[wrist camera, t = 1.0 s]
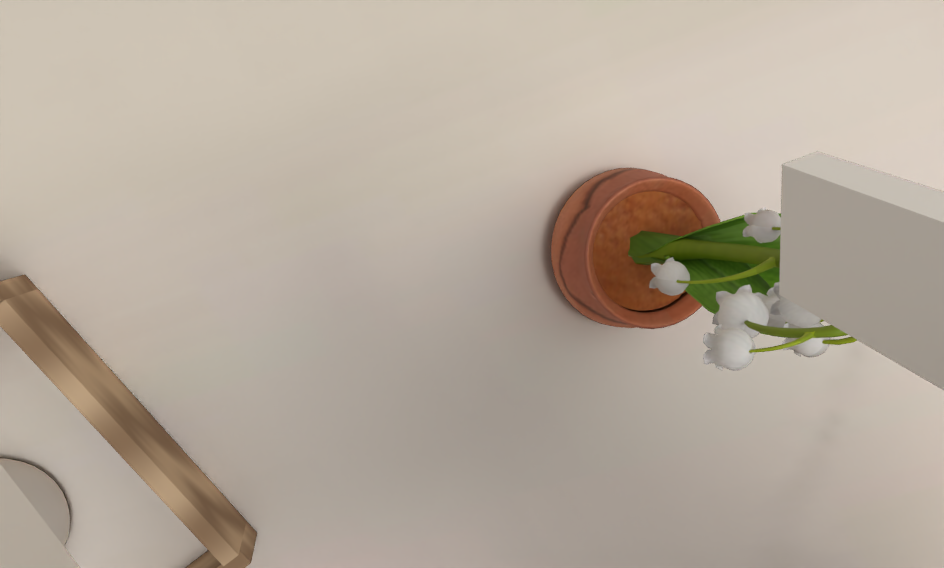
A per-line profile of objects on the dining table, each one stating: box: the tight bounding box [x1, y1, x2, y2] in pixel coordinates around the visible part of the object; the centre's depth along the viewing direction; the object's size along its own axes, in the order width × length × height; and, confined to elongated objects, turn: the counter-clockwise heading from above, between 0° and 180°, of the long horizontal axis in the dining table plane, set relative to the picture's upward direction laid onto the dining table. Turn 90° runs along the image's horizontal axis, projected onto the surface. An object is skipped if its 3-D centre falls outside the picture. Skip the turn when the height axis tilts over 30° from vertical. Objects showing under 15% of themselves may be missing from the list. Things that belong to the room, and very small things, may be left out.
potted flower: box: [551, 168, 857, 371], centre depth 32 cm, size 12×10×25 cm
